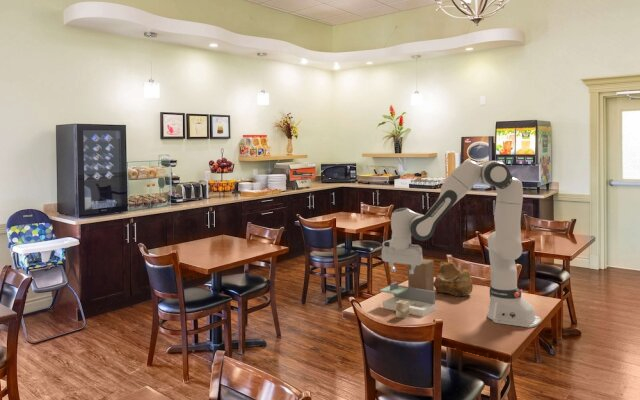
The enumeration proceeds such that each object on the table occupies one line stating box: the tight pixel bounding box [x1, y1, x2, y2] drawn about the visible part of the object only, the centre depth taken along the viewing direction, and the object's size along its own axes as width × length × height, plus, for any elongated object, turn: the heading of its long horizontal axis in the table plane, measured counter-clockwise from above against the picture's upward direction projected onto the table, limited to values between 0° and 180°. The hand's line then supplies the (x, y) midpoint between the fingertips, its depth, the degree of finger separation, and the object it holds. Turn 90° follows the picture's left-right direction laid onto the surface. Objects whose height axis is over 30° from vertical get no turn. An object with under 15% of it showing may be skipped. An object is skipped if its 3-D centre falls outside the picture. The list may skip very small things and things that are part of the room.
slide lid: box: [379, 281, 408, 295], centre depth 243 cm, size 10×10×4 cm
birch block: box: [395, 300, 410, 320], centre depth 229 cm, size 4×4×7 cm
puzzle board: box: [382, 284, 436, 318], centre depth 239 cm, size 22×12×9 cm, turn 50°
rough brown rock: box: [434, 261, 474, 297], centre depth 264 cm, size 23×17×15 cm
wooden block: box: [407, 258, 435, 292], centre depth 254 cm, size 10×10×20 cm
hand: (402, 272), depth 227 cm, fingers open, 8 cm apart
